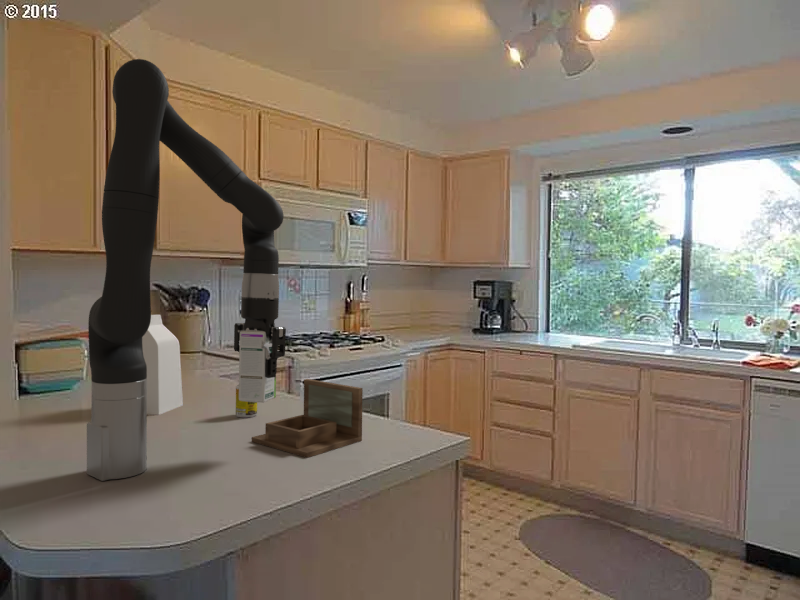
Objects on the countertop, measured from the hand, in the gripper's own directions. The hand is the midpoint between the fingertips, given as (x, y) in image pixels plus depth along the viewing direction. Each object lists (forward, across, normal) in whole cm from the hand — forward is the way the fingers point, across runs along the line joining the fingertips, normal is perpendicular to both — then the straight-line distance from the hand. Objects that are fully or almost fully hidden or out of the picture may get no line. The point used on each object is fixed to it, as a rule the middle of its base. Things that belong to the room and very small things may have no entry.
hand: (258, 375), depth 119 cm
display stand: (+16, +1, +13) cm, 21 cm away
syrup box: (+5, 0, 0) cm, 5 cm away
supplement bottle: (+16, -29, +20) cm, 39 cm away
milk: (+17, -55, +7) cm, 58 cm away
